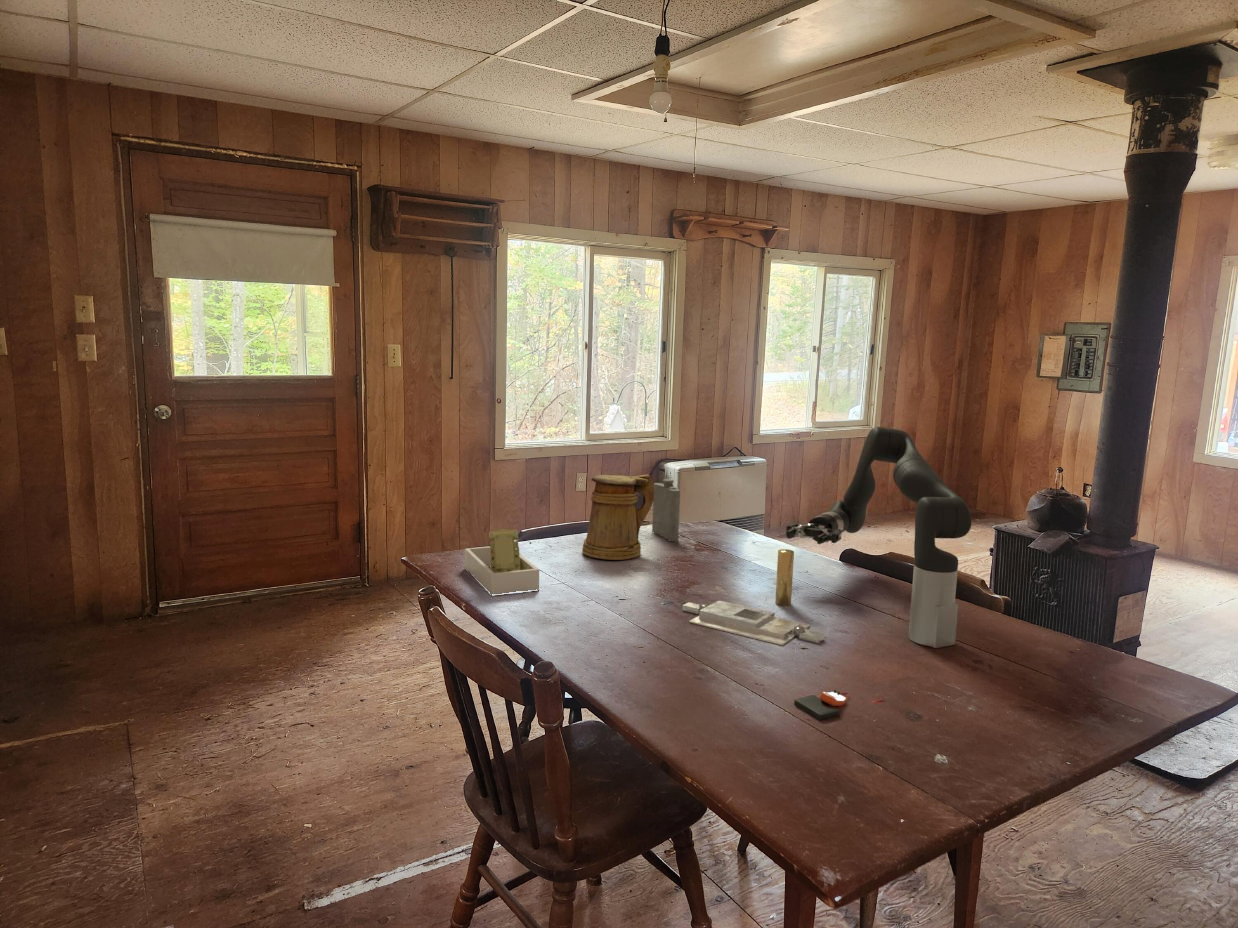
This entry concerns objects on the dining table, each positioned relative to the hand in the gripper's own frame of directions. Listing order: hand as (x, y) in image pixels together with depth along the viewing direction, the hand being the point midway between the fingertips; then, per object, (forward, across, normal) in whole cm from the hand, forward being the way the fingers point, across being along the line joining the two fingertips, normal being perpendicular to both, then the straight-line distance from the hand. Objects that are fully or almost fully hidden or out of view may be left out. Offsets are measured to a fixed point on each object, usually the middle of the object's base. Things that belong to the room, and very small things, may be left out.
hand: (803, 537), depth 216 cm
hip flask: (-32, -63, +17) cm, 72 cm away
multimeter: (+59, +32, +15) cm, 69 cm away
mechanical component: (+42, -68, +16) cm, 82 cm away
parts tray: (+42, -70, +16) cm, 84 cm away
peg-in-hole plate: (+31, 0, +15) cm, 35 cm away
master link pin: (+12, 0, +15) cm, 19 cm away
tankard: (-2, -62, +16) cm, 64 cm away
